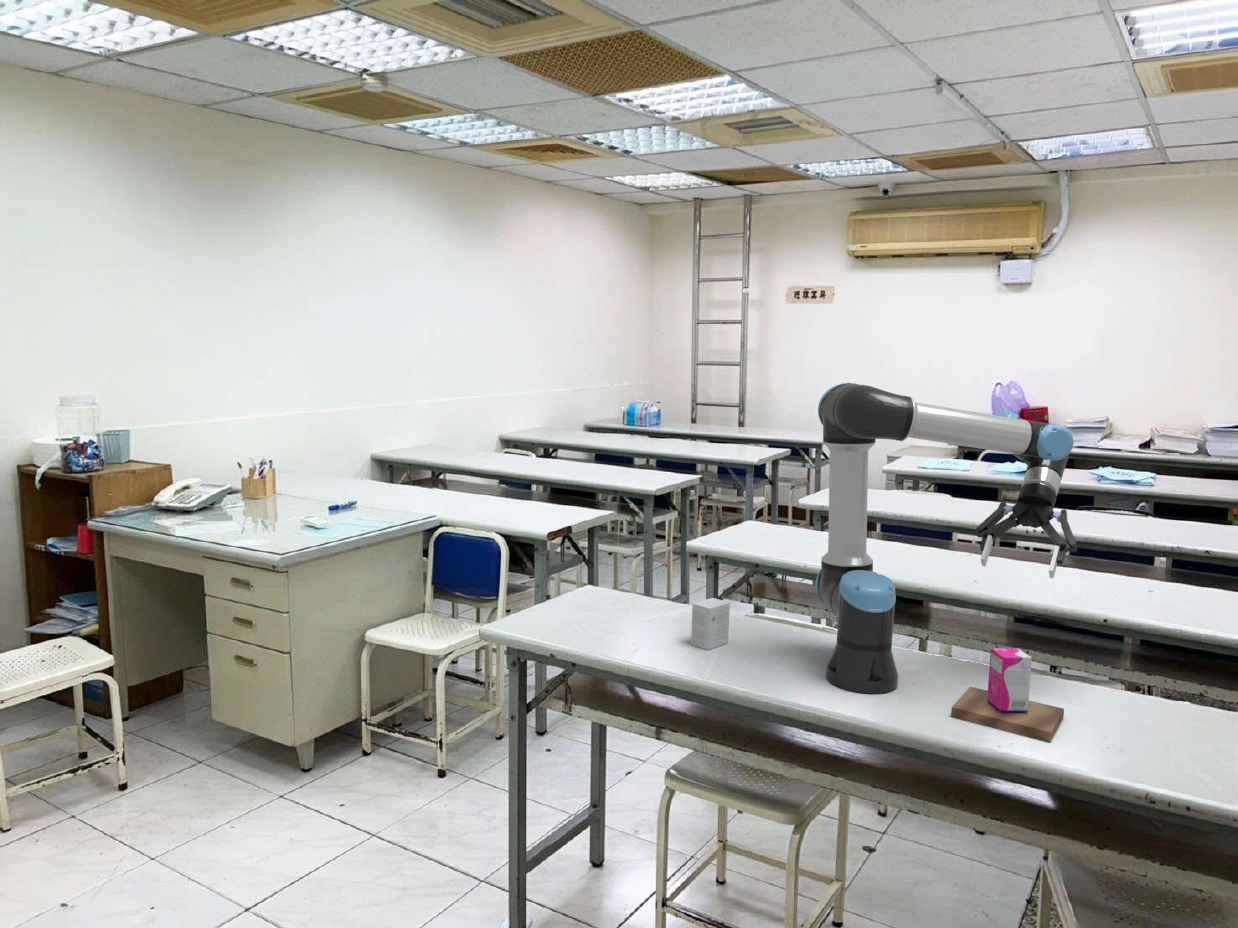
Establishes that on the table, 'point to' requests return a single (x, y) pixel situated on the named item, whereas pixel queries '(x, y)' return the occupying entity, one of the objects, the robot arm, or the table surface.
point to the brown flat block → (1009, 716)
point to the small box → (710, 623)
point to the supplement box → (1009, 680)
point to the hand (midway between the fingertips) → (1016, 568)
